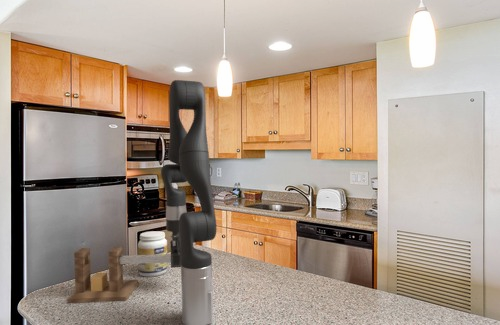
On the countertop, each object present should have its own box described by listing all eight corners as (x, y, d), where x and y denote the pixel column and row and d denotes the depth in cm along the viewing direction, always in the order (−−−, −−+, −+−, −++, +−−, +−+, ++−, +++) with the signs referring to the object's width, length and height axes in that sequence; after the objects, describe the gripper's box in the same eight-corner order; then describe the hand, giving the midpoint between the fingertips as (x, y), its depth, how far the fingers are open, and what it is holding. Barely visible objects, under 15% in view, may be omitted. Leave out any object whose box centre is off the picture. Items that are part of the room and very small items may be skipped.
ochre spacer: (107, 272, 126) (96, 272, 126) (101, 277, 121) (90, 277, 121) (107, 285, 127) (97, 285, 126) (102, 290, 122) (91, 291, 121)
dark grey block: (182, 264, 127) (182, 243, 127) (181, 267, 124) (181, 245, 124) (117, 266, 125) (116, 245, 125) (114, 269, 122) (113, 247, 122)
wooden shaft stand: (138, 283, 132) (137, 243, 132) (126, 300, 116) (125, 255, 116) (86, 285, 131) (85, 244, 131) (67, 303, 115) (66, 257, 115)
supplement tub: (157, 279, 137) (156, 237, 136) (132, 276, 141) (131, 235, 140) (173, 269, 148) (172, 231, 148) (149, 266, 152) (148, 229, 152)
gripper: (184, 220, 118) (184, 269, 118) (188, 213, 132) (189, 257, 132) (162, 221, 118) (163, 269, 118) (169, 214, 132) (170, 257, 132)
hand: (177, 262), depth 125 cm, fingers open, 3 cm apart
